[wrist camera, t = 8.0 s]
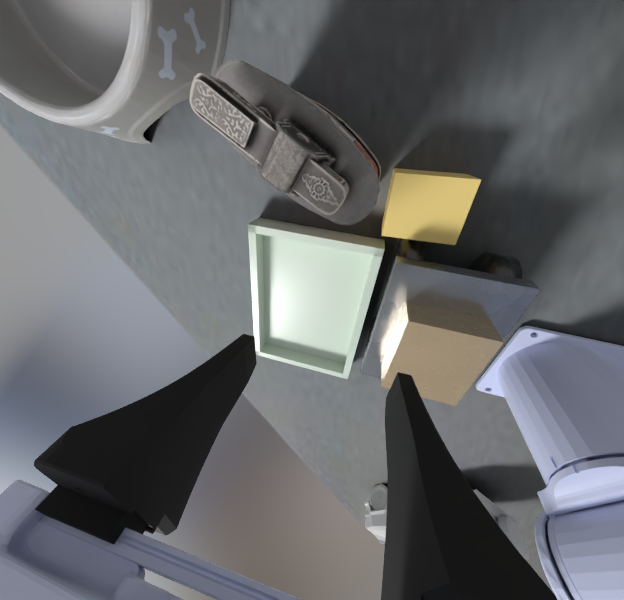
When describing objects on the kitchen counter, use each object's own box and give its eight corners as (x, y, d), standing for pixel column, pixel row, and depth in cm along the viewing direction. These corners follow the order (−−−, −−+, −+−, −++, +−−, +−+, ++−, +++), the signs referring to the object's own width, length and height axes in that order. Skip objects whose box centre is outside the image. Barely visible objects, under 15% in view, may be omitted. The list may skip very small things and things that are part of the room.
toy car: (357, 482, 41) (350, 565, 33) (474, 462, 30) (507, 579, 22) (396, 510, 44) (399, 594, 35) (519, 500, 33) (563, 620, 24)
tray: (384, 239, 18) (384, 249, 17) (349, 364, 26) (347, 379, 25) (259, 217, 20) (247, 224, 18) (262, 341, 28) (255, 354, 26)
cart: (508, 248, 17) (570, 302, 11) (443, 357, 23) (462, 426, 17) (396, 229, 18) (401, 269, 12) (363, 338, 24) (357, 397, 18)
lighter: (393, 163, 16) (403, 187, 8) (359, 207, 18) (337, 264, 9) (291, 75, 14) (173, -8, 6) (267, 132, 16) (153, 124, 8)
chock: (465, 173, 15) (481, 179, 13) (445, 230, 17) (455, 245, 15) (393, 168, 16) (395, 172, 13) (381, 222, 18) (381, 235, 15)
